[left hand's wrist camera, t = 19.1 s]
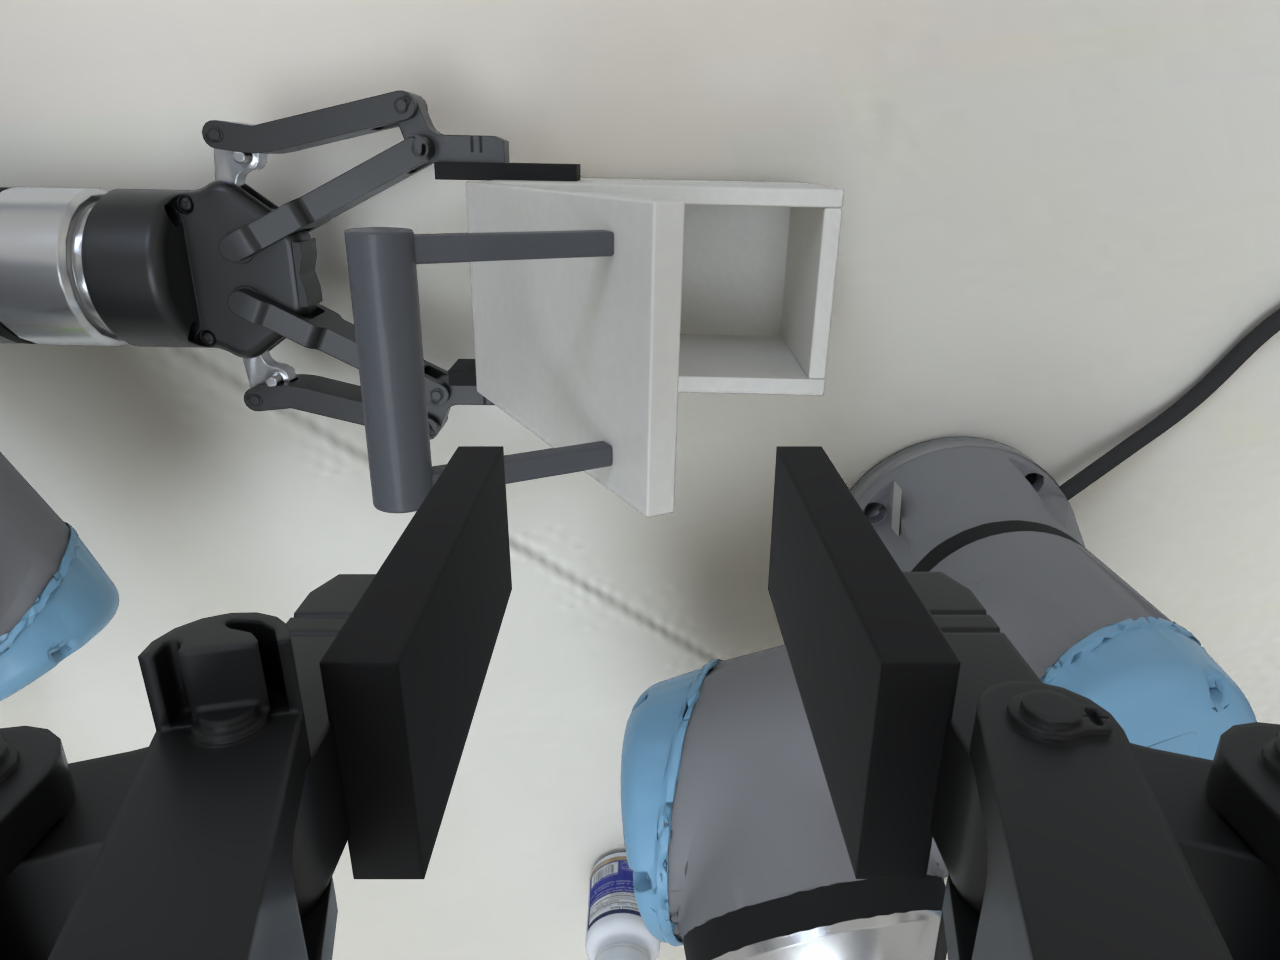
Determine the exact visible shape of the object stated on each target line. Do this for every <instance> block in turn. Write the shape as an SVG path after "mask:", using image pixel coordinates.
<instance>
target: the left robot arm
mask: <svg viewBox="0 0 1280 960" xmlns="http://www.w3.org/2000/svg"><path fill="white" fill-rule="evenodd" d="M1279 330H1280V309H1279V310H1278V311H1276V312H1275V313H1273V314H1272V315H1271V316H1269V317H1268V318H1267V319H1266V320H1264V321H1263V322H1262V323H1261V324H1259V325H1258V326H1257V327H1256V328H1255V329H1254V330H1252V331H1251V332H1250V333H1249V334H1248V335H1247V336H1246V337H1245V338H1244V339H1243V340H1241V341H1240V342H1239V343H1238V344H1237V345H1236V346H1235V347H1234V348H1233V349H1232V350H1231V351H1230V352H1229V353H1228V354H1227V355H1226V356H1225V357H1224V358H1223V359H1222V360H1221V361H1220V362H1219V363H1218V364H1217V365H1216V366H1215V367H1214V368H1213V369H1212V370H1211V371H1210V372H1209V373H1208V374H1207V375H1206V376H1205V377H1204V378H1203V379H1202V380H1201V381H1200V382H1199V383H1198V384H1197V385H1196V386H1195V387H1194V388H1193V389H1191V390H1190V391H1189V392H1188V393H1187V394H1186V395H1184V396H1183V397H1182V398H1181V399H1180V400H1179V401H1177V402H1176V403H1175V404H1174V405H1172V406H1171V407H1170V408H1168V409H1167V410H1166V411H1165V412H1163V413H1162V414H1161V415H1159V416H1158V417H1156V418H1155V419H1154V420H1152V421H1151V422H1150V423H1148V424H1147V425H1145V426H1144V427H1143V428H1141V429H1140V430H1138V431H1137V432H1135V433H1134V434H1133V435H1131V436H1130V437H1128V438H1127V439H1125V440H1124V441H1123V442H1121V443H1120V444H1118V445H1117V446H1116V447H1114V448H1113V449H1111V450H1110V451H1109V452H1107V453H1106V454H1104V455H1103V456H1102V457H1100V458H1099V459H1097V460H1096V461H1095V462H1093V463H1092V464H1090V465H1089V466H1088V467H1086V468H1085V469H1083V470H1082V471H1081V472H1079V473H1078V474H1076V475H1075V476H1074V477H1072V478H1071V479H1069V480H1068V481H1067V482H1065V483H1064V484H1062V485H1061V486H1060V487H1059V485H1058V484H1057V483H1056V482H1055V480H1054V479H1053V478H1052V477H1051V476H1050V475H1049V474H1048V473H1047V472H1046V471H1044V470H1043V469H1042V468H1041V467H1039V466H1038V465H1037V464H1036V463H1034V462H1033V461H1032V460H1030V459H1029V458H1028V457H1026V456H1025V455H1023V454H1022V453H1020V452H1018V451H1017V450H1015V449H1013V448H1011V447H1009V446H1006V445H1004V444H1001V443H998V442H995V441H991V440H987V439H981V438H974V437H947V438H940V439H934V440H930V441H926V442H922V443H919V444H916V445H913V446H910V447H908V448H906V449H903V450H901V451H899V452H897V453H895V454H893V455H891V456H890V457H888V458H886V459H885V460H883V461H882V462H880V463H879V464H877V465H876V466H875V467H874V468H872V469H871V470H870V471H869V472H867V473H866V474H865V475H864V476H863V477H862V478H861V479H860V480H859V481H858V482H857V483H856V485H855V486H854V487H853V488H852V489H851V490H849V489H848V487H847V486H846V484H845V482H844V481H843V479H842V478H841V476H840V475H839V473H838V472H837V470H836V469H835V467H834V465H833V464H832V462H831V461H830V459H829V458H828V456H827V455H826V453H825V451H824V450H823V448H822V447H777V453H776V469H775V485H774V502H773V518H772V534H771V550H770V566H769V582H768V590H769V593H770V597H771V600H772V603H773V606H774V610H775V613H776V616H777V620H778V623H779V626H780V630H781V633H782V636H783V640H784V643H785V645H782V646H779V647H775V648H771V649H767V650H763V651H759V652H756V653H752V654H748V655H744V656H740V657H737V658H733V659H729V660H725V661H723V660H720V659H717V660H713V661H710V662H708V663H707V664H706V665H704V666H703V667H702V669H699V670H695V671H692V672H689V673H686V674H683V675H680V676H677V677H674V678H671V679H668V680H665V681H662V682H659V683H657V684H655V685H653V686H651V687H650V688H648V689H647V690H646V691H645V692H644V693H643V694H642V695H641V696H640V697H639V699H638V701H637V702H636V704H635V705H634V707H633V709H632V713H631V715H630V718H629V719H628V722H627V726H626V730H625V735H624V741H623V749H622V761H621V807H622V821H623V834H624V842H625V850H626V857H627V861H628V865H629V868H630V869H632V870H633V871H634V872H633V883H634V894H635V898H636V902H637V906H638V909H639V912H640V915H641V917H642V920H643V922H644V924H645V926H646V928H647V929H648V931H649V932H650V934H652V935H653V936H654V937H655V938H656V939H657V940H659V941H661V942H666V943H669V944H671V945H673V946H680V945H684V949H685V955H686V960H946V955H947V952H948V960H1280V725H1278V724H1269V723H1260V722H1257V721H1256V718H1255V715H1254V712H1253V710H1252V708H1251V706H1250V704H1249V702H1248V700H1247V699H1246V697H1245V695H1244V694H1243V692H1242V691H1241V690H1240V688H1239V687H1238V686H1237V685H1236V683H1235V682H1234V681H1233V680H1232V679H1231V678H1230V677H1229V676H1228V675H1227V674H1226V673H1225V672H1224V671H1223V669H1222V668H1221V667H1220V666H1219V665H1218V664H1217V663H1216V662H1215V661H1214V660H1213V659H1212V658H1211V657H1210V656H1209V655H1208V653H1207V652H1206V650H1205V649H1204V647H1201V644H1200V642H1199V641H1198V640H1197V639H1196V638H1195V637H1194V636H1193V634H1192V633H1190V632H1189V631H1187V630H1186V629H1185V628H1183V627H1181V626H1179V625H1177V624H1176V623H1175V622H1172V621H1171V620H1169V619H1168V618H1167V617H1166V616H1165V615H1164V614H1162V613H1161V612H1160V611H1159V610H1158V609H1157V608H1155V607H1154V606H1153V605H1152V604H1151V603H1150V602H1148V601H1147V600H1146V599H1145V598H1144V597H1142V596H1141V595H1140V594H1139V593H1138V592H1137V591H1135V590H1134V589H1133V588H1132V587H1131V586H1130V585H1128V584H1127V583H1126V582H1125V581H1124V580H1123V579H1121V578H1120V577H1119V576H1118V575H1117V574H1115V573H1114V572H1113V571H1112V570H1111V569H1110V568H1108V567H1107V566H1106V565H1105V564H1104V563H1103V562H1101V561H1100V560H1099V559H1098V558H1097V557H1096V556H1094V555H1093V554H1092V553H1091V552H1089V551H1088V550H1087V549H1086V548H1085V545H1084V543H1083V540H1082V537H1081V534H1080V531H1079V528H1078V525H1077V522H1076V519H1075V516H1074V513H1073V511H1072V508H1071V506H1070V504H1069V502H1068V500H1069V499H1071V498H1072V497H1073V496H1075V495H1076V494H1078V493H1079V492H1081V491H1082V490H1083V489H1085V488H1086V487H1088V486H1089V485H1090V484H1092V483H1093V482H1095V481H1096V480H1097V479H1099V478H1100V477H1102V476H1103V475H1105V474H1106V473H1107V472H1109V471H1110V470H1112V469H1113V468H1114V467H1116V466H1117V465H1119V464H1120V463H1121V462H1123V461H1124V460H1126V459H1127V458H1128V457H1130V456H1131V455H1133V454H1134V453H1135V452H1137V451H1138V450H1140V449H1141V448H1142V447H1144V446H1145V445H1147V444H1148V443H1150V442H1151V441H1152V440H1154V439H1155V438H1157V437H1158V436H1160V435H1161V434H1162V433H1164V432H1165V431H1167V430H1168V429H1169V428H1171V427H1172V426H1173V425H1175V424H1176V423H1177V422H1179V421H1180V420H1181V419H1183V418H1184V417H1185V416H1187V415H1188V414H1189V413H1190V412H1192V411H1193V410H1194V409H1195V408H1196V407H1198V406H1199V405H1200V404H1201V403H1202V402H1204V401H1205V400H1206V399H1207V398H1208V397H1209V396H1210V395H1211V394H1212V393H1214V392H1215V391H1216V390H1217V389H1218V388H1219V387H1220V386H1221V385H1222V384H1223V383H1224V382H1225V381H1226V380H1227V379H1228V378H1229V377H1230V376H1231V375H1232V374H1233V373H1234V372H1235V371H1236V370H1237V369H1238V368H1239V367H1240V366H1241V365H1242V364H1243V363H1244V362H1245V361H1246V360H1247V359H1248V358H1249V357H1250V356H1251V355H1252V354H1253V353H1254V352H1255V351H1256V350H1258V349H1259V348H1260V347H1261V346H1262V345H1263V344H1264V343H1265V342H1266V341H1267V340H1269V339H1270V338H1271V337H1272V336H1273V335H1274V334H1276V333H1277V332H1278V331H1279ZM511 590H512V582H511V566H510V550H509V534H508V518H507V502H506V485H505V469H504V453H503V447H458V448H457V450H456V451H455V453H454V455H453V456H452V458H451V459H450V461H449V462H448V464H447V465H446V467H445V469H444V470H443V472H442V473H441V475H440V476H439V478H438V479H437V481H436V482H435V484H434V486H433V487H432V489H431V490H430V492H429V493H428V495H427V496H426V498H425V500H424V501H423V503H422V504H421V506H420V507H419V509H418V510H417V512H416V514H415V515H414V517H413V518H412V520H411V521H410V523H409V524H408V526H407V528H406V529H405V531H404V532H403V534H402V535H401V537H400V538H399V540H398V541H397V543H396V545H395V546H394V548H393V549H392V551H391V552H390V554H389V555H388V557H387V559H386V560H385V562H384V563H383V565H382V566H381V568H380V569H379V571H378V573H377V574H339V575H337V576H336V577H334V578H333V579H331V580H329V581H328V582H326V583H325V584H323V585H321V586H320V587H318V588H317V589H315V590H313V591H312V592H310V594H309V595H308V596H307V597H306V599H305V600H304V601H303V603H302V604H301V605H300V606H299V608H298V609H297V610H296V612H295V613H294V618H290V619H289V621H288V622H287V623H284V622H283V621H282V620H280V619H279V618H278V617H275V616H270V615H266V614H261V613H228V614H223V615H218V616H213V617H208V618H202V619H200V620H197V621H194V622H191V623H189V624H186V625H183V626H180V627H177V628H175V629H173V630H171V631H170V632H168V633H166V634H165V635H163V636H161V637H159V638H158V639H156V640H154V641H153V642H151V643H150V645H149V646H148V647H147V648H146V649H145V650H144V651H143V652H142V653H141V654H140V655H139V656H138V659H139V663H140V667H141V671H142V675H143V679H144V683H145V687H146V691H147V695H148V699H149V703H150V707H151V711H152V715H153V719H154V723H155V727H156V733H155V735H154V737H153V739H152V741H151V744H150V746H149V747H146V748H142V749H138V750H134V751H130V752H125V753H120V754H115V755H110V756H105V757H100V758H95V759H90V760H85V761H80V762H75V763H70V764H68V763H67V759H66V756H65V753H64V749H63V746H62V743H61V739H60V738H59V737H57V736H56V735H55V734H53V733H52V732H51V731H50V730H48V729H43V728H36V727H30V726H20V727H10V728H1V729H0V960H332V954H333V946H334V937H335V929H336V921H337V912H338V910H337V903H336V896H335V890H334V884H333V878H332V875H333V873H334V870H335V868H336V866H337V863H338V861H339V859H340V856H341V854H342V852H343V849H344V847H345V845H346V843H347V840H348V845H349V851H350V858H351V864H352V870H353V876H354V879H424V878H425V874H426V871H427V868H428V864H429V861H430V858H431V854H432V851H433V848H434V845H435V841H436V838H437V835H438V831H439V828H440V825H441V821H442V818H443V815H444V811H445V808H446V805H447V802H448V798H449V795H450V792H451V788H452V785H453V782H454V778H455V775H456V772H457V768H458V765H459V762H460V759H461V755H462V752H463V749H464V745H465V742H466V739H467V735H468V732H469V729H470V726H471V722H472V719H473V716H474V712H475V709H476V706H477V702H478V699H479V696H480V692H481V689H482V686H483V683H484V679H485V676H486V673H487V669H488V666H489V663H490V659H491V656H492V653H493V649H494V646H495V643H496V640H497V636H498V633H499V630H500V626H501V623H502V620H503V616H504V613H505V610H506V606H507V603H508V600H509V597H510V593H511ZM944 877H948V878H947V884H946V886H945V884H944Z"/></svg>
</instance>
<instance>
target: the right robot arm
mask: <svg viewBox="0 0 1280 960" xmlns="http://www.w3.org/2000/svg"><path fill="white" fill-rule="evenodd" d="M395 127H400V130H401V132H402V135H403V137H404V139H405V140H404V141H402V142H400V143H398V144H396V145H395V146H393V147H391V148H389V149H387V150H385V151H384V152H382V153H380V154H378V155H376V156H375V157H373V158H371V159H369V160H367V161H366V162H364V163H362V164H360V165H358V166H356V167H355V168H353V169H351V170H349V171H347V172H346V173H344V174H342V175H340V176H338V177H336V178H335V179H333V180H331V181H329V182H327V183H326V184H324V185H322V186H320V187H318V188H317V189H315V190H313V191H311V192H309V193H307V194H306V195H304V196H302V197H300V198H298V199H295V200H293V201H290V202H288V203H286V204H284V205H282V206H281V207H278V206H276V205H275V204H274V203H272V202H271V201H269V200H268V199H267V198H265V197H264V196H262V195H261V194H259V193H258V192H257V191H255V190H254V189H252V188H251V187H250V186H248V185H247V184H245V178H246V176H247V174H248V173H249V172H251V171H254V170H260V169H262V168H263V167H264V166H265V165H266V162H267V154H280V153H289V152H294V151H298V150H303V149H307V148H311V147H315V146H319V145H323V144H328V143H332V142H336V141H340V140H344V139H349V138H353V137H357V136H361V135H365V134H370V133H374V132H378V131H382V130H386V129H391V128H395ZM202 134H203V138H204V140H205V142H206V143H207V144H208V145H209V146H211V147H213V148H214V158H215V181H214V182H212V183H210V184H208V185H207V186H205V187H203V188H201V189H199V190H154V189H115V190H112V191H109V192H107V191H104V190H102V189H93V188H50V187H13V188H3V187H1V188H0V343H27V344H55V345H90V346H120V345H125V344H127V343H128V344H131V345H134V346H151V347H205V348H220V349H223V350H226V351H229V352H231V353H233V354H234V355H236V356H239V357H242V358H243V360H244V364H245V368H246V371H247V375H248V379H249V382H250V386H251V389H249V390H248V391H247V392H245V395H244V401H245V404H246V405H247V406H248V407H249V408H250V409H252V410H254V411H266V410H276V409H286V408H293V409H297V410H301V411H306V412H310V413H314V414H318V415H323V416H327V417H331V418H335V419H340V420H344V421H348V422H352V423H356V424H361V425H365V421H364V411H363V402H362V392H361V386H358V385H353V384H349V383H345V382H341V381H337V380H333V379H328V378H324V377H320V376H315V375H306V374H297V375H296V374H295V370H294V368H293V367H291V366H289V365H287V364H283V363H278V362H276V361H275V360H274V359H272V357H271V356H270V353H269V351H270V350H271V349H272V348H274V347H275V346H276V345H278V344H279V343H280V342H281V341H283V340H284V339H285V338H288V339H290V340H292V341H294V342H296V343H298V344H300V345H302V346H305V347H307V348H311V349H318V350H320V351H323V352H325V353H327V354H329V355H331V356H333V357H335V358H337V359H339V360H341V361H343V362H345V363H347V364H349V365H351V366H353V367H355V368H357V369H359V364H358V355H357V345H356V336H355V326H354V325H353V324H351V323H349V322H347V321H345V320H344V319H342V318H341V316H340V315H339V314H338V313H336V312H334V311H332V310H330V309H328V308H326V307H324V306H322V305H320V304H319V302H321V301H322V293H321V286H320V283H319V280H318V278H317V275H316V273H315V264H316V257H317V251H316V243H315V238H311V237H310V235H309V233H308V232H310V231H312V230H314V229H316V228H318V227H319V226H321V225H323V224H325V223H327V222H328V221H330V220H331V219H332V218H334V217H336V216H338V215H339V214H341V213H343V212H345V211H347V210H349V209H350V208H352V207H354V206H356V205H358V204H360V203H361V202H363V201H365V200H367V199H369V198H371V197H373V196H374V195H376V194H378V193H380V192H382V191H384V190H385V189H387V188H389V187H391V186H393V185H395V184H397V183H398V182H400V181H402V180H404V179H406V178H408V177H409V176H411V175H413V174H415V173H417V172H419V171H420V170H422V169H424V168H426V167H428V166H430V165H432V164H433V163H434V166H435V179H446V180H524V181H575V182H577V181H579V180H580V164H539V163H509V143H508V141H506V140H504V139H502V138H499V137H496V136H469V135H443V134H441V133H440V132H438V131H437V130H436V129H435V128H434V126H433V124H432V122H431V119H430V117H429V114H428V108H427V104H426V102H425V100H424V99H423V98H422V97H421V96H418V95H416V94H412V93H409V92H405V91H395V92H391V93H386V94H382V95H378V96H374V97H370V98H366V99H362V100H357V101H353V102H349V103H345V104H341V105H337V106H333V107H329V108H324V109H320V110H316V111H312V112H308V113H304V114H300V115H295V116H291V117H287V118H283V119H279V120H275V121H271V122H267V123H262V124H258V125H252V124H245V123H238V122H227V121H217V120H213V121H208V122H207V123H205V125H204V126H203V130H202ZM423 361H424V374H425V387H426V400H427V413H428V426H429V438H430V439H433V438H434V437H435V436H437V434H438V433H439V431H440V430H441V429H442V427H443V426H444V425H445V423H446V422H447V419H448V413H449V410H450V407H451V406H453V405H459V404H461V405H495V404H493V403H492V402H491V401H489V400H488V399H487V398H485V397H484V396H483V395H481V394H480V393H479V392H478V391H477V381H476V363H475V359H458V360H457V361H456V363H455V364H454V365H453V366H452V367H451V368H450V369H449V370H448V371H446V370H444V369H442V368H440V367H438V366H436V365H434V364H432V363H430V362H428V361H426V360H424V359H423ZM118 605H119V594H118V591H117V588H116V587H115V585H114V583H113V582H112V581H111V579H110V578H109V577H108V575H107V574H106V573H105V571H104V570H103V569H102V567H101V566H100V565H99V563H98V562H97V561H96V559H95V558H94V557H93V555H92V554H91V553H90V551H89V550H88V549H87V547H86V546H85V545H84V543H83V542H82V541H81V539H80V538H79V537H78V534H77V532H76V531H75V529H74V528H73V527H72V526H71V525H69V524H68V523H66V522H63V521H62V519H61V518H60V517H59V516H58V515H57V514H56V513H55V512H54V511H53V510H52V508H51V507H50V506H49V505H48V504H47V503H46V502H45V501H44V500H43V498H42V497H41V496H40V495H39V494H38V493H37V492H36V491H35V490H34V489H33V487H32V486H31V485H30V484H29V483H28V482H27V481H26V480H25V479H24V478H23V476H22V475H21V474H20V473H19V472H18V471H17V470H16V469H15V468H14V467H13V465H12V464H11V463H10V462H9V461H8V460H7V459H6V458H5V457H4V455H3V454H2V453H1V452H0V701H1V700H3V699H5V698H7V697H9V696H10V695H12V694H14V693H15V692H17V691H19V690H20V689H22V688H24V687H25V686H27V685H28V684H30V683H31V682H33V681H34V680H36V679H38V678H39V677H41V676H42V675H43V674H45V673H46V672H48V671H49V670H51V669H52V668H54V667H55V666H56V665H57V664H58V663H59V662H60V661H62V660H63V659H64V658H66V657H67V656H69V655H70V654H71V653H73V652H75V651H76V650H78V649H79V648H81V647H82V646H83V645H85V644H86V643H87V642H88V641H89V640H91V639H92V638H93V637H94V636H95V635H97V634H98V633H99V632H100V631H101V630H102V629H103V628H104V627H105V626H106V625H107V624H108V623H109V622H110V620H111V619H112V618H113V616H114V615H115V613H116V611H117V608H118Z"/></svg>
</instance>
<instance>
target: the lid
mask: <svg viewBox="0 0 1280 960" xmlns="http://www.w3.org/2000/svg"><path fill="white" fill-rule="evenodd" d="M466 197H467V215H468V233H443V234H414V232H413V230H411V229H406V228H390V227H370V228H353V229H348V230H345V242H346V251H347V260H348V270H349V279H350V289H351V298H352V307H353V317H354V326H355V336H356V345H357V355H358V364H359V373H360V383H361V392H362V402H363V411H364V421H365V430H366V439H367V449H368V458H369V468H370V477H371V486H372V496H373V504H374V506H375V508H377V509H378V510H380V511H383V512H388V513H408V512H414V511H417V510H418V509H419V507H420V506H421V504H422V503H423V501H424V500H425V498H426V496H427V495H428V493H429V492H430V490H431V489H432V487H433V486H434V484H435V482H436V481H437V479H438V478H439V476H440V475H441V473H442V472H443V470H444V469H445V467H446V465H447V464H446V465H440V466H433V467H432V464H431V451H430V438H429V426H428V413H427V400H426V387H425V374H424V361H423V348H422V335H421V322H420V309H419V296H418V283H417V270H416V264H430V263H455V262H470V271H471V289H472V307H473V326H474V344H475V363H476V381H477V391H478V392H479V393H480V394H481V395H483V396H484V397H485V398H487V399H488V400H489V401H491V402H492V403H493V404H495V405H496V406H498V407H499V408H500V409H502V410H503V411H504V412H506V413H507V414H508V415H510V416H511V417H512V418H514V419H515V420H516V421H518V422H519V423H520V424H522V425H523V426H524V427H526V428H527V429H528V430H530V431H531V432H532V433H534V434H535V435H537V436H538V437H539V438H541V439H542V440H543V441H545V442H546V443H547V444H549V445H550V446H551V447H553V448H551V449H545V450H538V451H532V452H525V453H519V454H512V455H505V456H504V469H505V484H508V483H514V482H519V481H525V480H531V479H537V478H543V477H549V476H555V475H561V474H567V473H573V472H579V471H585V472H586V473H588V474H589V475H590V476H592V477H593V478H594V479H596V480H597V481H598V482H600V483H601V484H602V485H604V486H605V487H606V488H608V489H609V490H610V491H612V492H613V493H615V494H616V495H617V496H619V497H620V498H621V499H623V500H624V501H625V502H627V503H628V504H629V505H631V506H632V507H633V508H635V509H636V510H637V511H639V512H640V513H641V514H643V515H644V516H645V517H653V516H658V515H663V514H667V513H672V512H673V511H674V493H675V465H676V438H677V410H678V382H679V354H680V326H681V299H682V271H683V243H684V215H685V203H684V202H683V201H679V200H669V199H659V198H648V197H638V196H628V195H617V194H607V193H596V192H586V191H576V190H565V189H555V188H545V187H534V186H524V185H513V184H503V183H493V182H466Z"/></svg>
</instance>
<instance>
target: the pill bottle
mask: <svg viewBox="0 0 1280 960" xmlns="http://www.w3.org/2000/svg"><path fill="white" fill-rule="evenodd" d="M633 872H634V871H633V870H632V869H630V868H629V865H628V861H627V857H626V852H619V853H614V854H610V855H608V856H606V857H604V858H602V859H601V860H600V861H598V862H597V863H596V865H595V866H594V867H593V869H592V871H591V874H590V881H589V901H588V917H587V930H586V952H587V955H588V957H589V959H590V960H656V958H657V956H658V953H659V950H660V941H659V940H657V939H656V938H655V937H654V936H653V935H652V934H650V932H649V931H648V929H647V928H646V926H645V924H644V922H643V920H642V917H641V915H640V912H639V909H638V906H637V902H636V898H635V894H634V883H633Z"/></svg>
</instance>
